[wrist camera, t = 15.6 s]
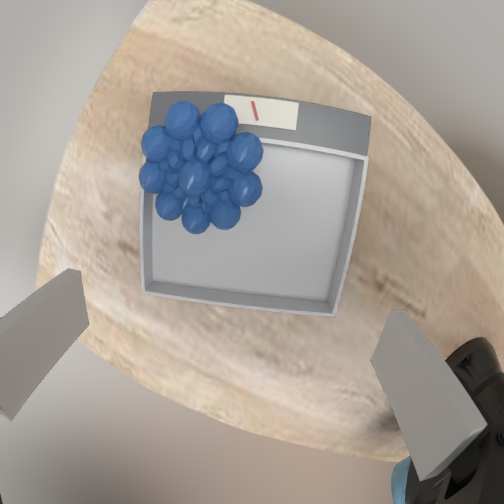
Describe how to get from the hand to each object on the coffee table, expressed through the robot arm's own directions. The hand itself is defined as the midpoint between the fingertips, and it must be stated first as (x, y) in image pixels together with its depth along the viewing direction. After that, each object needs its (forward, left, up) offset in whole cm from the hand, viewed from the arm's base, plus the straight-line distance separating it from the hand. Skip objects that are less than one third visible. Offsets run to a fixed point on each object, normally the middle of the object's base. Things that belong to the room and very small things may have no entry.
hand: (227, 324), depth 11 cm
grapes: (+1, 0, -16) cm, 16 cm away
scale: (0, -2, -21) cm, 21 cm away
